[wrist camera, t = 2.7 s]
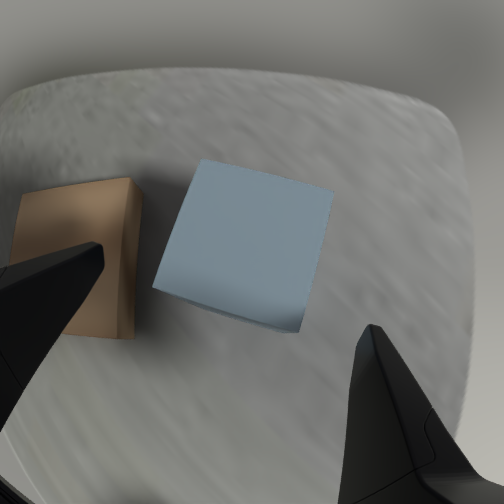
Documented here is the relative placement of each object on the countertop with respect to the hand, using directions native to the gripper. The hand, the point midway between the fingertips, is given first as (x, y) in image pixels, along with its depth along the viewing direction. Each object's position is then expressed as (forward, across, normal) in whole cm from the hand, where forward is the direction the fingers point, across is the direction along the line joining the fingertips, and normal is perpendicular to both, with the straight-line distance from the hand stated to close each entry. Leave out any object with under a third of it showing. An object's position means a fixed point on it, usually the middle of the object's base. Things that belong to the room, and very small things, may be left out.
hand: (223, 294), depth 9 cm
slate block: (+8, 0, +5) cm, 10 cm away
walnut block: (+7, +12, +7) cm, 16 cm away
